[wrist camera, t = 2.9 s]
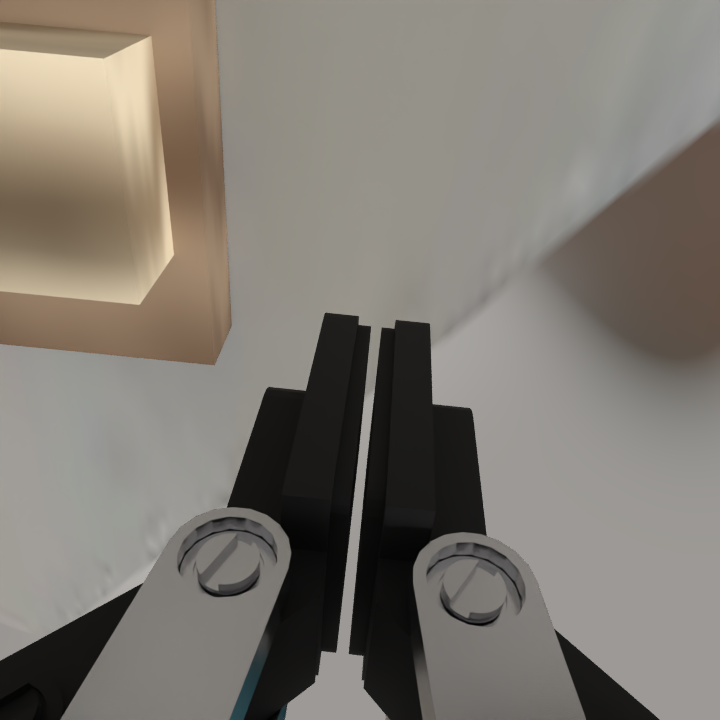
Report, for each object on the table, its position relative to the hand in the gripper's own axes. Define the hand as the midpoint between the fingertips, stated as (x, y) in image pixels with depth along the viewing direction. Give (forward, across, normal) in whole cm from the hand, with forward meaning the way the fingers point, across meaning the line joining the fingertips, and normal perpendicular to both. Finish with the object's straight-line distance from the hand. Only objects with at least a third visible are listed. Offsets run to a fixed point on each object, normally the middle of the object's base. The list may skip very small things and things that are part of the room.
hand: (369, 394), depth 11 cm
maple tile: (+9, +11, -1) cm, 14 cm away
